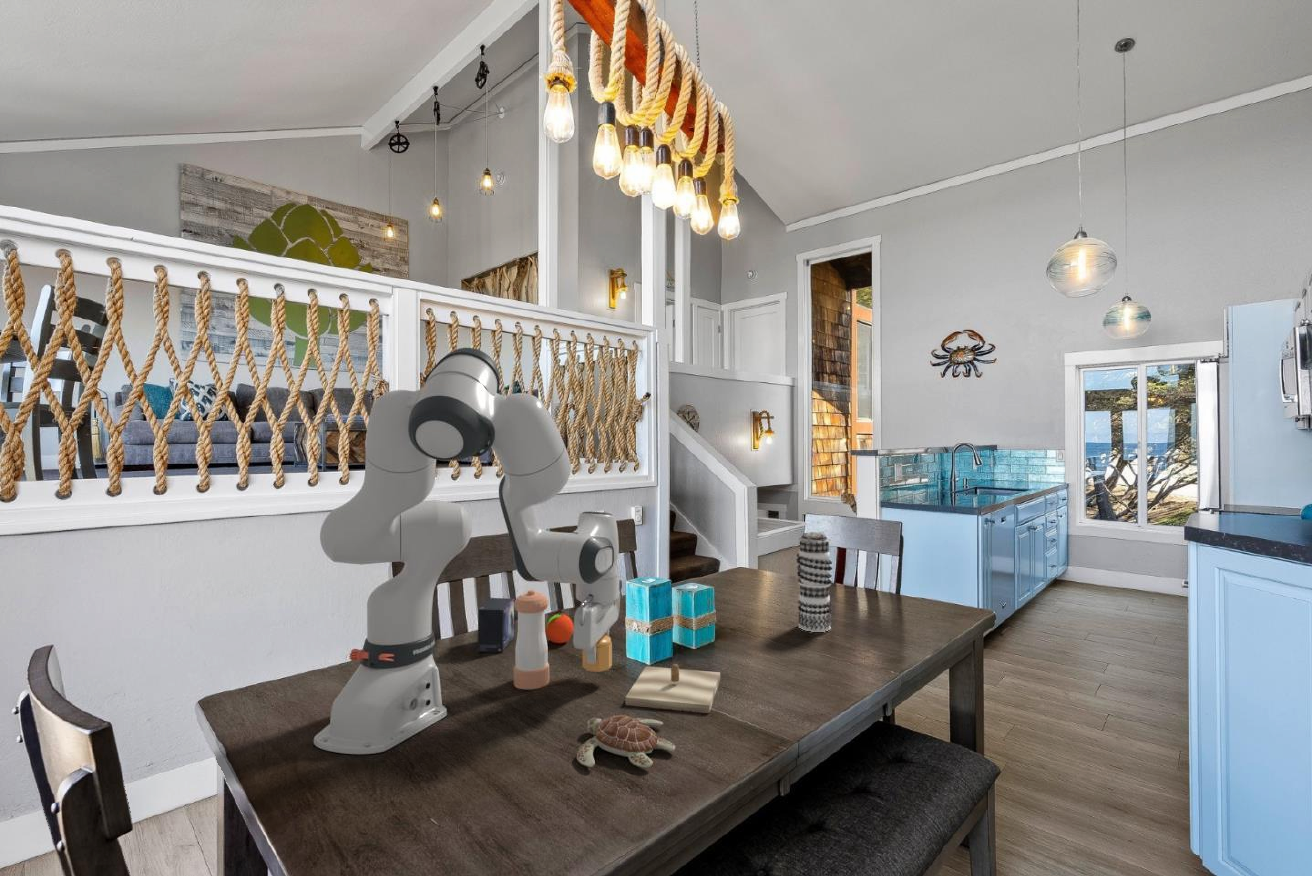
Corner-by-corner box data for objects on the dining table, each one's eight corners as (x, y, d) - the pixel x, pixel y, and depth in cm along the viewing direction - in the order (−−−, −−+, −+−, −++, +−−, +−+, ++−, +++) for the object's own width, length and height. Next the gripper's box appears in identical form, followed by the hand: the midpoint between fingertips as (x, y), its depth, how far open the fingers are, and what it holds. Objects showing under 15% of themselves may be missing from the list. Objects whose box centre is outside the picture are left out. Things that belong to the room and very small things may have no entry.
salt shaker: (541, 691, 122) (540, 595, 122) (507, 688, 124) (507, 594, 124) (554, 677, 129) (554, 586, 129) (522, 674, 131) (522, 585, 131)
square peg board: (709, 713, 112) (709, 683, 112) (625, 705, 116) (625, 676, 116) (720, 679, 128) (720, 653, 128) (646, 673, 131) (646, 647, 131)
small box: (504, 653, 144) (503, 609, 144) (476, 653, 144) (476, 609, 144) (515, 638, 154) (515, 597, 154) (489, 638, 155) (489, 597, 155)
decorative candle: (789, 625, 164) (789, 532, 164) (816, 620, 168) (816, 530, 168) (811, 635, 156) (811, 537, 156) (839, 630, 160) (839, 534, 160)
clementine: (556, 650, 146) (555, 620, 146) (536, 644, 150) (536, 615, 150) (579, 641, 152) (579, 613, 152) (560, 636, 156) (560, 608, 156)
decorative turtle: (623, 715, 113) (622, 688, 113) (696, 743, 102) (696, 713, 102) (547, 755, 98) (547, 724, 98) (624, 792, 88) (624, 758, 88)
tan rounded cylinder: (606, 672, 123) (606, 645, 123) (579, 670, 124) (579, 642, 124) (614, 662, 128) (614, 635, 128) (588, 660, 129) (588, 633, 129)
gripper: (596, 604, 115) (596, 677, 115) (624, 578, 135) (624, 640, 135) (565, 602, 116) (565, 674, 117) (597, 577, 136) (597, 638, 137)
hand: (597, 656), depth 126 cm, fingers closed on tan rounded cylinder, 6 cm apart
